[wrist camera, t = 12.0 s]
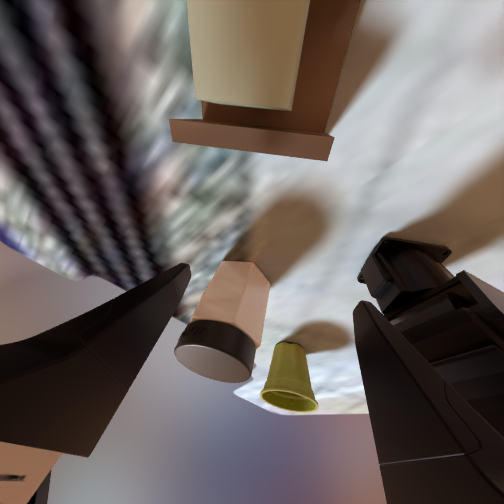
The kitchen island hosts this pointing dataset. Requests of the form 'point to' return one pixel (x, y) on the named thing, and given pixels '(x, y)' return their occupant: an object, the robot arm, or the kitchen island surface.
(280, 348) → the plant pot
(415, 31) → the kitchen island surface
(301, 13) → the beige rectangular block
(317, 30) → the shelf frame
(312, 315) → the kitchen island surface
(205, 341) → the jar
